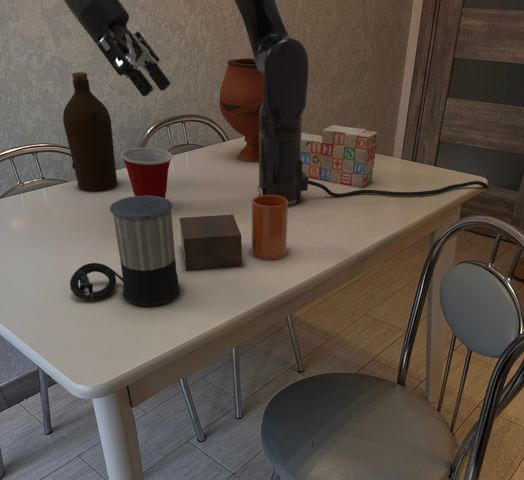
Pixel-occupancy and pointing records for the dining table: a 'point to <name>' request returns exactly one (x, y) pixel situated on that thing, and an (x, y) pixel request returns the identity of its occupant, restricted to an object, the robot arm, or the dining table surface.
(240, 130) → the goblet
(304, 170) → the stack of blocks
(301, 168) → the robot arm
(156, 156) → the plastic cup
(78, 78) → the olive oil
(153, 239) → the milk frother
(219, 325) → the dining table surface
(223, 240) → the walnut block
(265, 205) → the terracotta cup
